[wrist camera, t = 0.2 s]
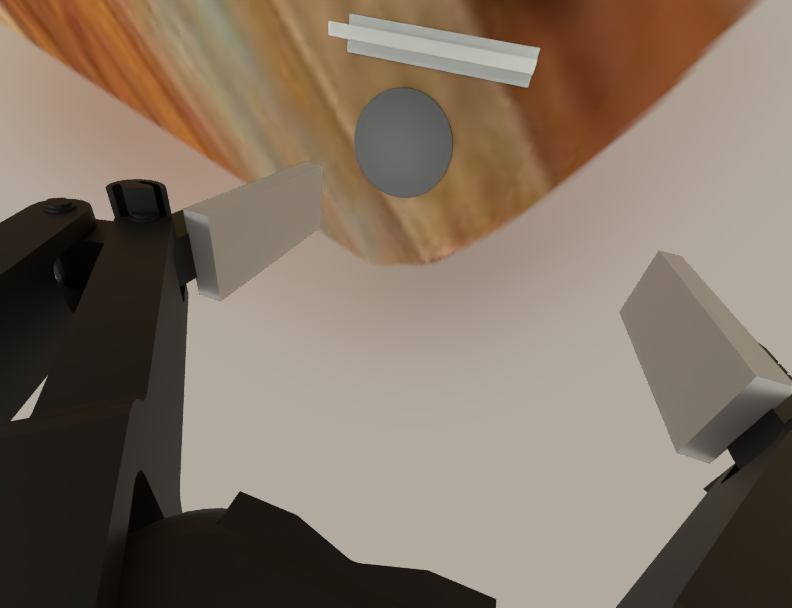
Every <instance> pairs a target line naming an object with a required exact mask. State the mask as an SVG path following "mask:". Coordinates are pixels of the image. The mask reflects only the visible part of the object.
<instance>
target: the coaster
mask: <svg viewBox="0 0 792 608" xmlns="http://www.w3.org/2000/svg"><path fill="white" fill-rule="evenodd" d="M452 146H453V141H452V133H451V128H450V125H449V122H448V119H447V117H446V115H445V113H444V112H443V110H442V109H441V107H440V106H439V105H438V104H437V103H436V102H435V101H434V100H433V99H432V98H431V97H429V96H428V95H426V94H424V93H422V92H420V91H418V90H414V89H410V88H395V89H390V90H387V91H385V92H383V93H381V94H379V95H377V96H376V97H375V98H373V99H372V100H371V101H370V102H369V103H368V104H367V106H366V107H365V108H364V110H363V112H362V113H361V115H360V117H359V120H358V123H357V126H356V131H355V151H356V156H357V159H358V163H359V165H360V167H361V169H362V171H363V173H364V174H365V176H366V177H367V179H368V180H369V181H370V182H371V183H372V184H373V185H374V186H375V187H376V188H378V189H379V190H381V191H382V192H384V193H386V194H389V195H392V196H395V197H403V198H407V197H414V196H418V195H421V194H423V193H425V192H427V191H429V190H430V189H431V188H433V187H434V186H435V185H436V184H437V183H438V182H439V181H440V179H441V178H442V177H443V175H444V174H445V172H446V170H447V168H448V166H449V163H450V160H451V155H452Z"/></svg>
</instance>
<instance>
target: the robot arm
mask: <svg viewBox="0 0 792 608" xmlns="http://www.w3.org/2000/svg"><path fill="white" fill-rule="evenodd" d="M322 167H323V166H322V165H318V164H314V163H310V162H306V161H305V162H303V163H300V164H298V165H295V166H293V167H290V168H287V169H285V170H282V171H280V172H277V173H274V174H272V175H269V176H267V177H264V178H262V179H259V180H256V181H254V182H251V183H249V184H246V185H243V186H241V187H238V188H236V189H233V190H230V191H228V192H225V193H223V194H220V195H218V196H215V197H212V198H210V199H207V200H205V201H202V202H200V203H197V204H195V205H192V206H189V207H187V208H184V209H183V210H181V211H178V212H175V213H173V214H171V209H170V205H169V200H168V195H167V190H166V187H165V185H164V184H162V183H159V182H156V181H152V180H142V179H134V180H122V181H117V182H113V183H111V184H109V185H107V186H106V190H107V193H108V197H109V200H110V203H111V207H112V210H113V213H114V216H115V219H114V221H107V220H98V219H95V216H94V213H93V210H92V207H91V205H90V204H89V203H88V202H85V201H83V200H76V199H66V198H52V199H48V200H46V201H42V202H38V203H36V204H33V205H30V206H29V207H27V208H25V209H24V210H22V211H20V212H18V213H16V214H15V215H13V216H11V217H9V218H8V219H6V220H4V221H2V222H1V223H0V608H496V599H494V598H492V597H490V596H487V595H485V594H483V593H480V592H478V591H476V590H473V589H471V588H468V587H466V586H464V585H461V584H459V583H457V582H454V581H452V580H449V579H447V578H445V577H442V576H440V575H437V574H435V573H432V572H430V571H428V570H419V569H409V568H400V567H391V566H381V565H371V564H362V563H357V562H354V561H352V560H350V559H349V558H347V557H346V556H345V555H344V554H342V553H341V552H340V551H339V550H338V549H336V548H335V547H334V546H333V545H332V544H331V543H329V542H328V541H327V540H326V539H324V538H323V537H322V536H321V535H320V534H319V533H318V532H316V531H315V530H314V529H313V528H312V527H310V526H309V525H308V524H307V523H306V522H304V521H303V520H302V519H301V518H300V517H299V516H297V515H295V514H293V513H290V512H288V511H286V510H283V509H281V508H279V507H276V506H273V505H271V504H269V503H267V502H264V501H262V500H259V499H257V498H255V497H252V496H250V495H248V494H245V493H243V492H241V491H240V492H239V493H238V495H237V496H236V497H235V499H234V500H233V502H232V503H231V505H230V506H229V508H228V509H224V508H215V509H201V510H195V511H188V512H184V513H182V508H181V502H180V470H181V445H182V423H183V402H184V379H185V357H186V335H187V312H188V290H187V285H186V283H188V282H189V281H191V280H193V279H195V278H196V280H197V286H198V291H199V294H200V295H203V296H206V297H209V298H212V299H215V300H218V301H222V300H223V299H224V298H226V297H227V296H228V295H230V294H231V293H233V292H234V291H235V290H237V289H238V288H239V287H241V286H242V285H243V284H245V283H246V282H247V281H249V280H250V279H251V278H253V277H254V276H256V275H257V274H258V273H260V272H261V271H262V270H264V269H265V268H266V267H268V266H269V265H270V264H272V263H273V262H275V261H276V260H277V259H279V258H280V257H281V256H283V255H284V254H285V253H287V252H288V251H289V250H291V249H292V248H293V247H295V246H296V245H297V244H299V243H300V242H301V241H303V240H304V239H305V238H307V237H308V236H309V235H311V234H312V233H314V232H315V231H316V230H318V229H319V228H320V219H321V193H322ZM55 276H56V278H57V279H56V278H55ZM620 315H621V317H622V320H623V322H624V324H625V327H626V329H627V332H628V334H629V337H630V339H631V342H632V344H633V347H634V349H635V352H636V354H637V356H638V359H639V361H640V364H641V366H642V369H643V371H644V374H645V376H646V379H647V381H648V384H649V386H650V388H651V391H652V393H653V396H654V398H655V401H656V403H657V406H658V408H659V411H660V413H661V415H662V418H663V420H664V423H665V425H666V427H667V430H668V433H669V435H670V438H671V440H672V442H673V445H674V447H675V450H676V452H677V453H679V454H682V455H685V456H688V457H691V458H694V459H697V460H700V461H703V462H706V463H709V464H710V463H711V462H712V461H714V460H715V459H716V458H717V457H718V456H719V455H721V454H722V453H723V452H724V451H725V450H726V449H728V450H729V452H730V454H731V456H732V458H733V460H734V461H735V464H734V465H732V466H731V467H730V468H729V469H727V470H726V471H725V472H724V473H723V474H721V475H720V476H719V477H717V478H716V479H715V480H714V481H712V482H711V483H710V484H709V485H708V486H706V487H705V488H704V490H705V491H706V492H707V494H706V495H705V497H704V498H703V499H702V500H701V502H700V503H699V504H698V505H697V507H696V508H695V509H694V510H693V512H692V513H691V514H690V516H689V517H688V518H687V519H686V520H685V522H684V523H683V524H682V525H681V527H680V528H679V529H678V530H677V532H676V533H675V534H674V535H673V537H672V538H671V539H670V540H669V542H668V543H667V544H666V545H665V547H664V548H663V549H662V550H661V552H660V553H659V554H658V555H657V557H656V558H655V559H654V561H653V562H652V563H651V564H650V565H649V567H648V568H647V569H646V571H645V572H644V573H643V574H642V576H641V577H640V578H639V579H638V580H637V582H636V583H635V584H634V586H633V587H632V588H631V589H630V591H629V592H628V593H627V594H626V596H625V597H624V598H623V599H622V601H621V602H620V603H619V604H618V606H617V607H616V608H792V377H791V376H790V375H787V373H788V372H787V371H786V370H785V369H784V368H783V367H782V366H781V365H780V364H777V363H778V361H777V360H776V359H775V358H774V357H773V355H771V353H770V352H769V351H768V350H767V349H766V348H765V347H763V346H762V345H761V344H759V343H758V342H757V341H756V340H755V339H754V338H753V337H752V335H751V334H750V333H749V332H748V331H747V330H746V329H745V328H744V326H743V325H742V324H741V323H740V322H739V321H738V320H737V318H736V317H735V316H734V315H733V314H732V313H731V312H730V311H729V309H728V308H727V307H726V306H725V305H724V304H723V302H722V301H721V300H720V299H719V298H718V297H717V296H716V295H715V293H714V292H713V291H712V290H711V289H710V288H709V287H708V286H707V284H706V283H705V282H704V281H703V280H702V279H701V278H700V277H699V275H698V274H697V273H696V272H695V271H694V270H693V268H692V267H691V266H690V265H689V264H688V263H687V262H686V261H685V259H684V258H683V257H682V256H679V255H675V254H670V253H667V252H663V251H658V253H657V254H656V256H655V257H654V259H653V260H652V262H651V264H650V265H649V267H648V269H647V270H646V272H645V273H644V274H643V276H642V278H641V279H640V281H639V282H638V284H637V285H636V287H635V289H634V290H633V292H632V293H631V295H630V296H629V298H628V299H627V301H626V303H625V304H624V306H623V307H622V309H621V310H620ZM47 375H48V377H47ZM46 377H47V379H46V382H45V384H44V386H43V389H42V391H41V393H40V396H39V398H38V401H37V403H36V405H35V407H34V410H33V412H32V414H31V416H30V417H29V418H26V419H21V420H16V421H11V419H12V418H13V417H14V416H15V415H16V414H17V412H18V411H19V410H20V409H21V407H22V406H23V404H25V402H26V401H27V400H28V399H29V398H30V396H31V395H32V394H33V393H34V391H35V390H36V389H37V387H38V386H39V385H40V384H41V383H42V381H43V380H44V379H45V378H46Z"/></svg>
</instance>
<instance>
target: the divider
mask: <svg viewBox="0 0 792 608" xmlns="http://www.w3.org/2000/svg"><path fill="white" fill-rule="evenodd" d="M328 35H330V36H335V37H339V38H344V39H348V46H347V52H351V53H356V54H361V55H366V56H371V57H376V58H381V59H386V60H391V61H396V62H401V63H406V64H411V65H416V66H421V67H426V68H431V69H436V70H441V71H446V72H451V73H456V74H461V75H466V76H471V77H476V78H481V79H486V80H491V81H496V82H501V83H506V84H511V85H516V86H521V87H526V88H528V86H529V83H530V79H531V76H532V75H533V73H534V70H535V67H536V64H537V58H538V54H539V51H540V48H537V47H531V46H525V45H520V44H514V43H509V42H503V41H498V40H492V39H487V38H481V37H476V36H470V35H465V34H459V33H454V32H448V31H443V30H437V29H432V28H426V27H421V26H415V25H410V24H404V23H399V22H393V21H388V20H382V19H377V18H371V17H366V16H360V15H355V14H350V16H349V25H348V24H343V23H338V22H332V21H329V26H328Z"/></svg>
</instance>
